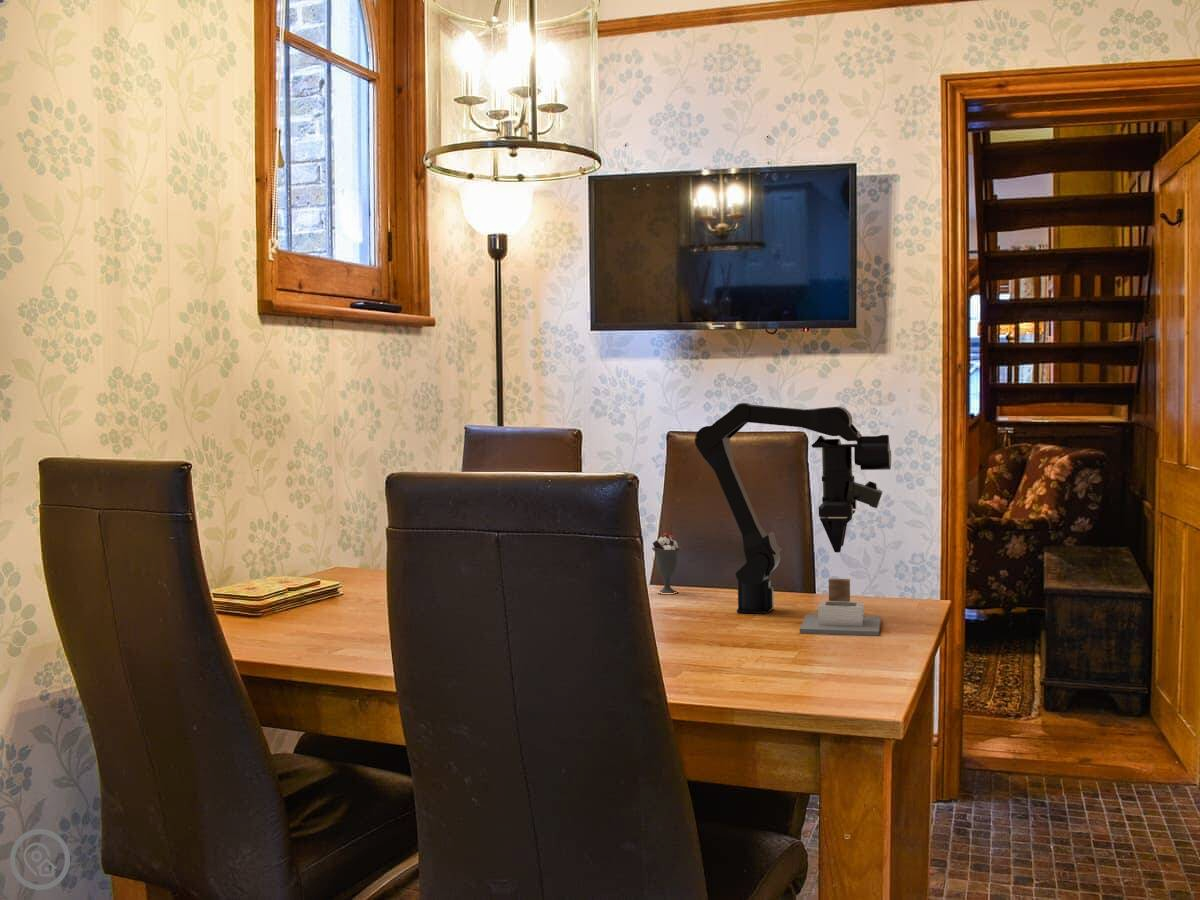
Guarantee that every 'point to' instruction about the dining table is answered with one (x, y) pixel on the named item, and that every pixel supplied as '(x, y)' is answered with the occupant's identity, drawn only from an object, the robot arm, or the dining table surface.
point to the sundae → (666, 558)
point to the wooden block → (839, 589)
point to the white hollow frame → (841, 613)
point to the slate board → (841, 627)
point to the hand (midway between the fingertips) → (839, 549)
